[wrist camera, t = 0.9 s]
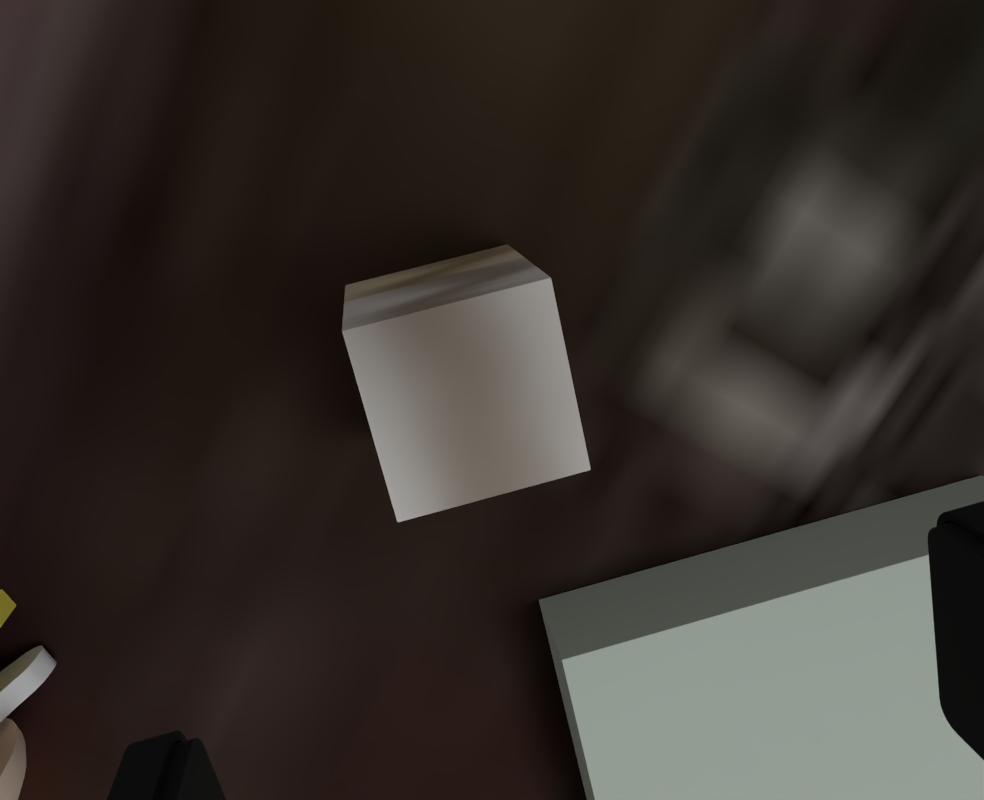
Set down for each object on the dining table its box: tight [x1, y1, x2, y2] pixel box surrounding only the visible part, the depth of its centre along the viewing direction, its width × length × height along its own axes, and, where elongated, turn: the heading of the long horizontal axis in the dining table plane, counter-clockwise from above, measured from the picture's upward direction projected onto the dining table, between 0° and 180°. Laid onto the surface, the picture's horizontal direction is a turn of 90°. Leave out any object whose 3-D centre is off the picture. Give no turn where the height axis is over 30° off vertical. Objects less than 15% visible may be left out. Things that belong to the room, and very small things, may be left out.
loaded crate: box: [342, 245, 591, 522], centre depth 27 cm, size 6×6×7 cm
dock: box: [539, 475, 984, 800], centre depth 34 cm, size 18×15×4 cm
